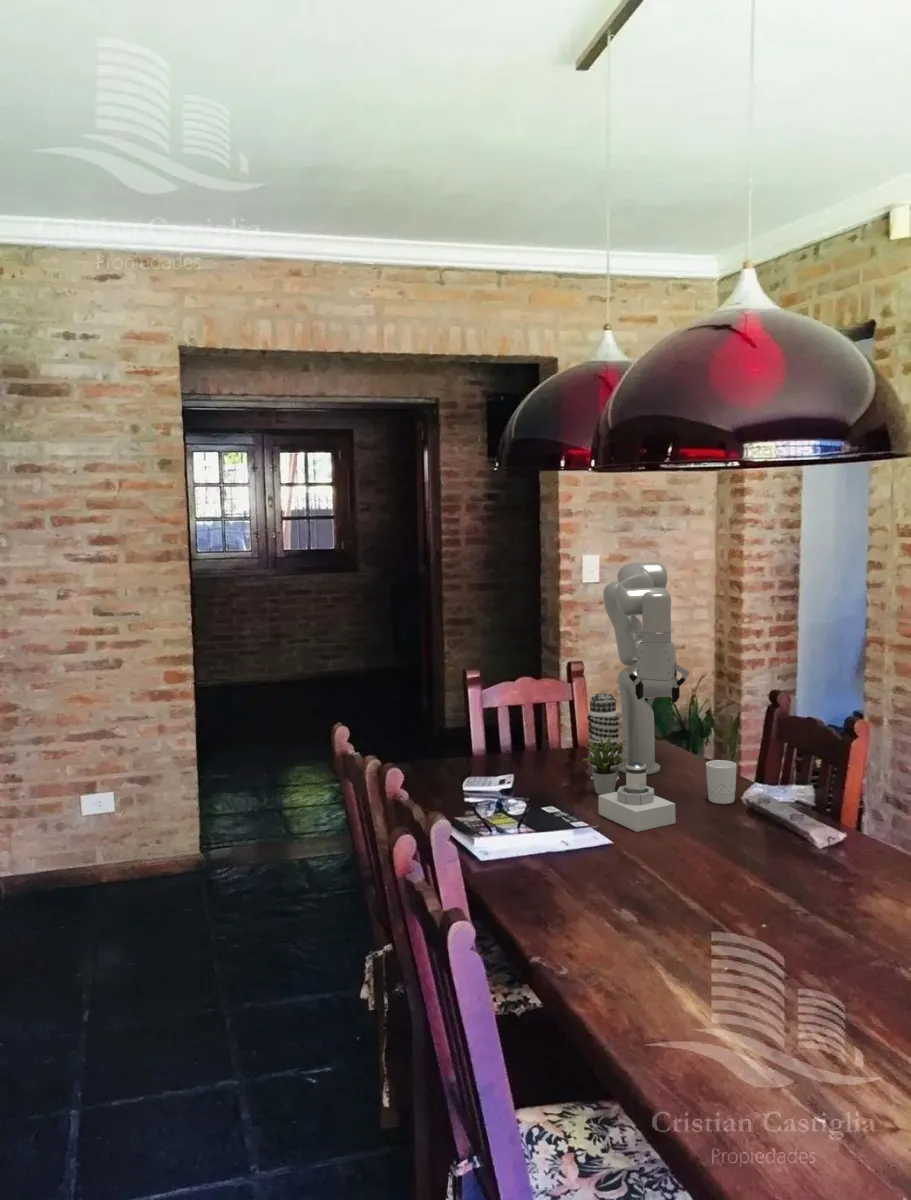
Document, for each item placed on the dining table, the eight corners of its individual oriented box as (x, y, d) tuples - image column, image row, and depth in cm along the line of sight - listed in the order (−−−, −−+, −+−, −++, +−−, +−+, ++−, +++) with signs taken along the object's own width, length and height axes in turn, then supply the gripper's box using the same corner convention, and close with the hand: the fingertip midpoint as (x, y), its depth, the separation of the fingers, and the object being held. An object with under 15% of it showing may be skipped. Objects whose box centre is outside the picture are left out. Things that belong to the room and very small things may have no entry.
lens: (622, 798, 236) (621, 763, 235) (638, 795, 238) (638, 760, 237) (634, 803, 231) (633, 767, 231) (650, 800, 233) (650, 764, 233)
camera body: (598, 814, 240) (598, 785, 239) (636, 806, 245) (635, 778, 244) (636, 831, 225) (635, 801, 225) (675, 823, 231) (674, 793, 230)
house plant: (637, 801, 249) (636, 741, 248) (586, 802, 250) (584, 743, 248) (628, 785, 264) (627, 729, 262) (580, 787, 264) (578, 731, 262)
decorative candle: (586, 782, 269) (584, 697, 266) (591, 773, 277) (589, 691, 275) (618, 783, 266) (616, 698, 264) (622, 774, 275) (620, 692, 273)
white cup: (740, 804, 243) (740, 767, 242) (710, 805, 243) (709, 768, 242) (732, 795, 251) (731, 759, 250) (703, 796, 251) (702, 760, 250)
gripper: (621, 638, 249) (622, 700, 251) (684, 641, 240) (685, 705, 242) (630, 633, 255) (631, 694, 257) (692, 636, 246) (693, 699, 248)
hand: (657, 699), depth 249 cm, fingers open, 9 cm apart
